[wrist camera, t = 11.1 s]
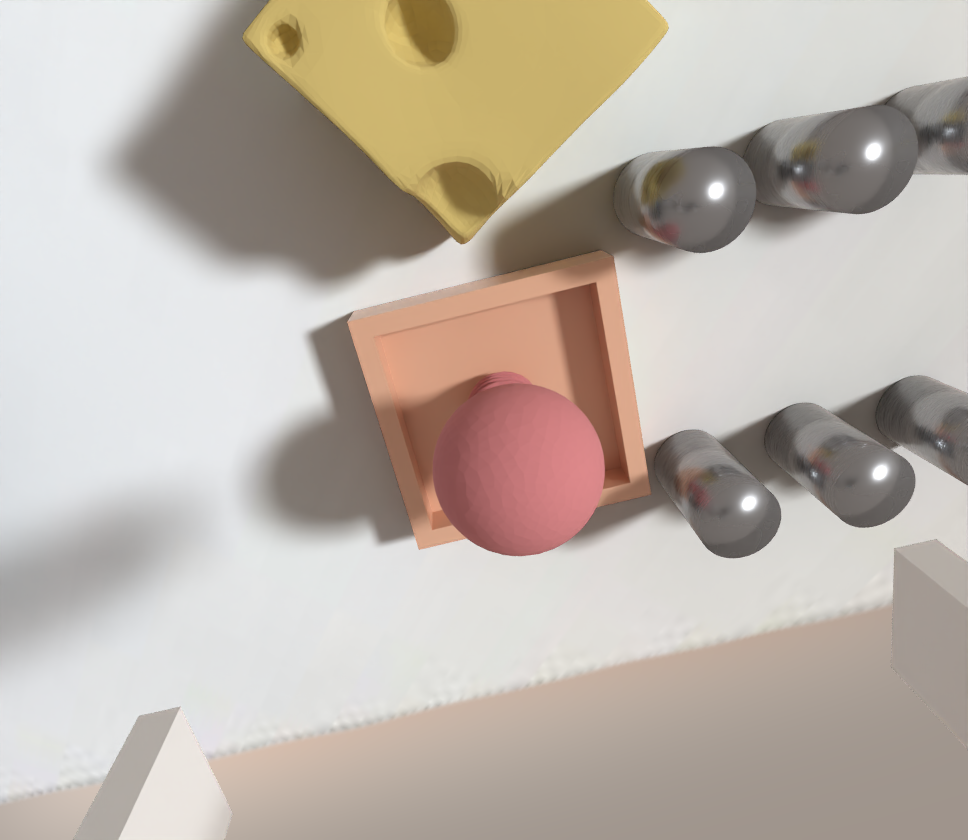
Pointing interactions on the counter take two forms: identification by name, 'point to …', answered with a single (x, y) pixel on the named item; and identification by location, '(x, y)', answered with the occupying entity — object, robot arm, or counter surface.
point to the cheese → (456, 84)
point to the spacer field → (806, 426)
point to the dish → (501, 369)
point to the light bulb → (518, 467)
